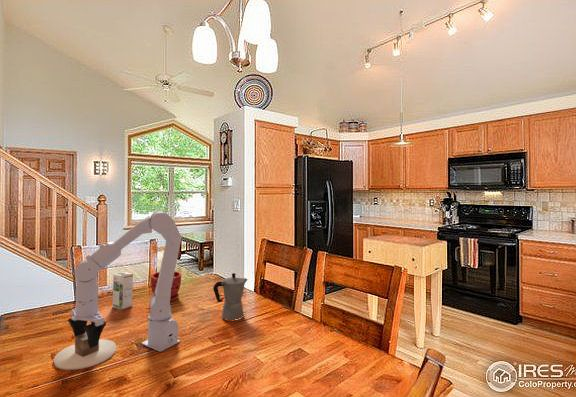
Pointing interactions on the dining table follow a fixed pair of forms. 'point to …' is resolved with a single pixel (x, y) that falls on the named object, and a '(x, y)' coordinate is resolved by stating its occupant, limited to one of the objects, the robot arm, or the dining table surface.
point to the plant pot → (175, 284)
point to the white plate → (74, 361)
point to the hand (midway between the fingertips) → (86, 343)
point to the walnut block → (84, 345)
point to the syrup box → (122, 290)
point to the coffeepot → (231, 297)
